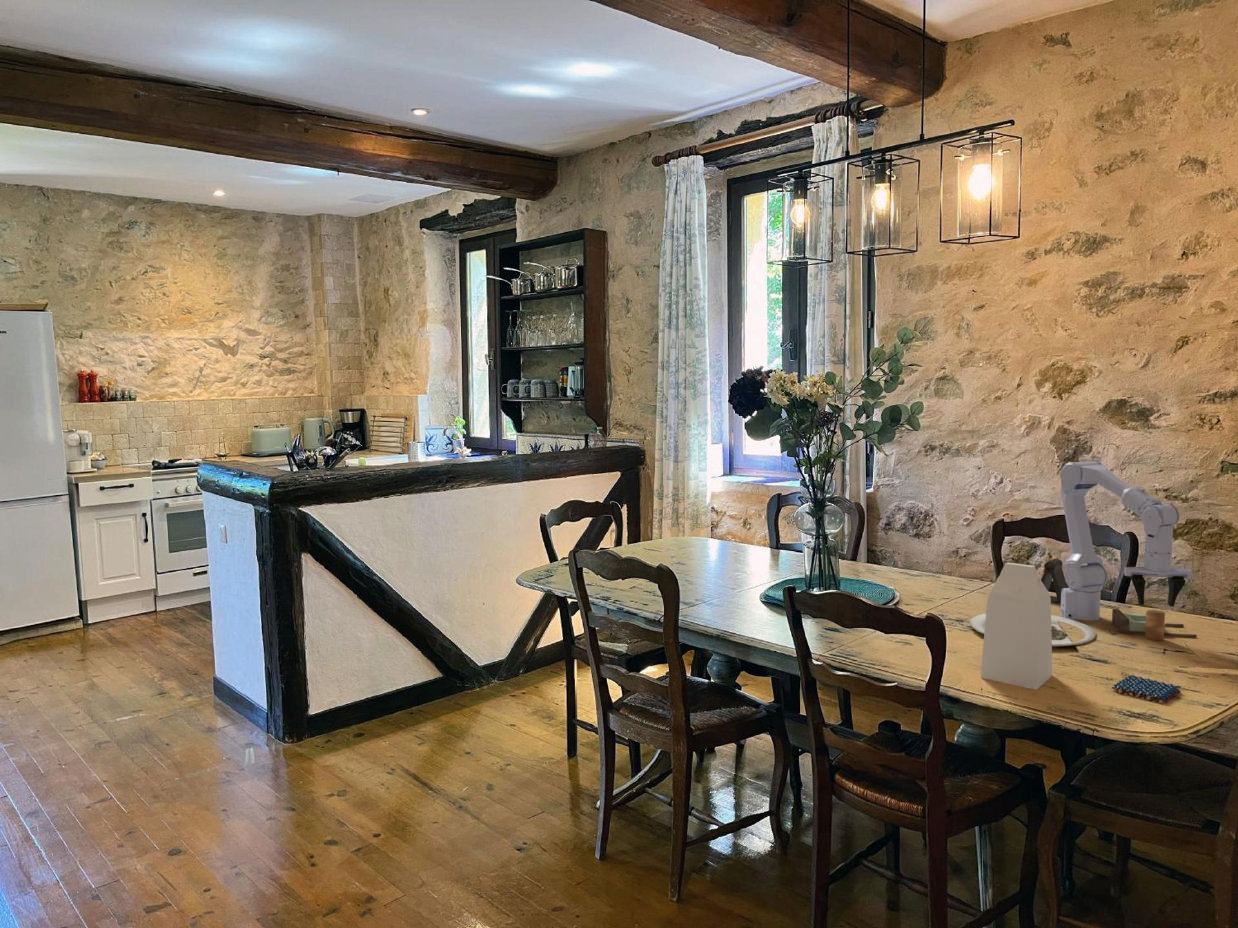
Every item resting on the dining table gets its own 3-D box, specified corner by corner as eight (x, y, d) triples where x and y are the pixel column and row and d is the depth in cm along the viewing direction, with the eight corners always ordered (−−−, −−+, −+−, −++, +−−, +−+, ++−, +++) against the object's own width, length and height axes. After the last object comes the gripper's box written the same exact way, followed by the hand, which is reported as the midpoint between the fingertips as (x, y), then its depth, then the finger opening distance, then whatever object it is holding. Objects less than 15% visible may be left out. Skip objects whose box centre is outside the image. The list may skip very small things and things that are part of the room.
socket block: (1128, 633, 224) (1129, 621, 223) (1120, 624, 232) (1120, 613, 231) (1164, 635, 221) (1165, 623, 221) (1154, 625, 229) (1155, 614, 229)
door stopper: (1072, 600, 260) (1073, 561, 259) (1064, 604, 256) (1065, 564, 255) (1041, 595, 267) (1042, 556, 265) (1032, 598, 263) (1034, 559, 261)
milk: (1052, 675, 198) (1056, 563, 195) (1036, 689, 189) (1040, 573, 186) (998, 664, 206) (1000, 556, 203) (980, 677, 197) (983, 565, 194)
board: (1128, 644, 218) (1129, 625, 217) (1111, 626, 233) (1112, 608, 232) (1206, 649, 213) (1207, 629, 212) (1183, 630, 228) (1184, 612, 228)
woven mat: (1128, 681, 194) (1128, 672, 194) (1181, 694, 186) (1182, 685, 186) (1109, 693, 188) (1109, 684, 187) (1164, 707, 179) (1164, 697, 179)
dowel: (1147, 641, 217) (1149, 613, 217) (1143, 636, 221) (1144, 609, 220) (1165, 642, 216) (1167, 614, 215) (1160, 637, 220) (1161, 610, 219)
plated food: (1079, 621, 240) (1080, 609, 239) (1109, 655, 211) (1110, 642, 211) (964, 615, 248) (964, 603, 247) (977, 647, 219) (977, 634, 219)
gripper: (1130, 553, 214) (1128, 607, 216) (1197, 556, 211) (1194, 610, 212) (1122, 548, 221) (1120, 600, 223) (1187, 550, 217) (1184, 603, 219)
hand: (1155, 604), depth 218 cm, fingers open, 6 cm apart
